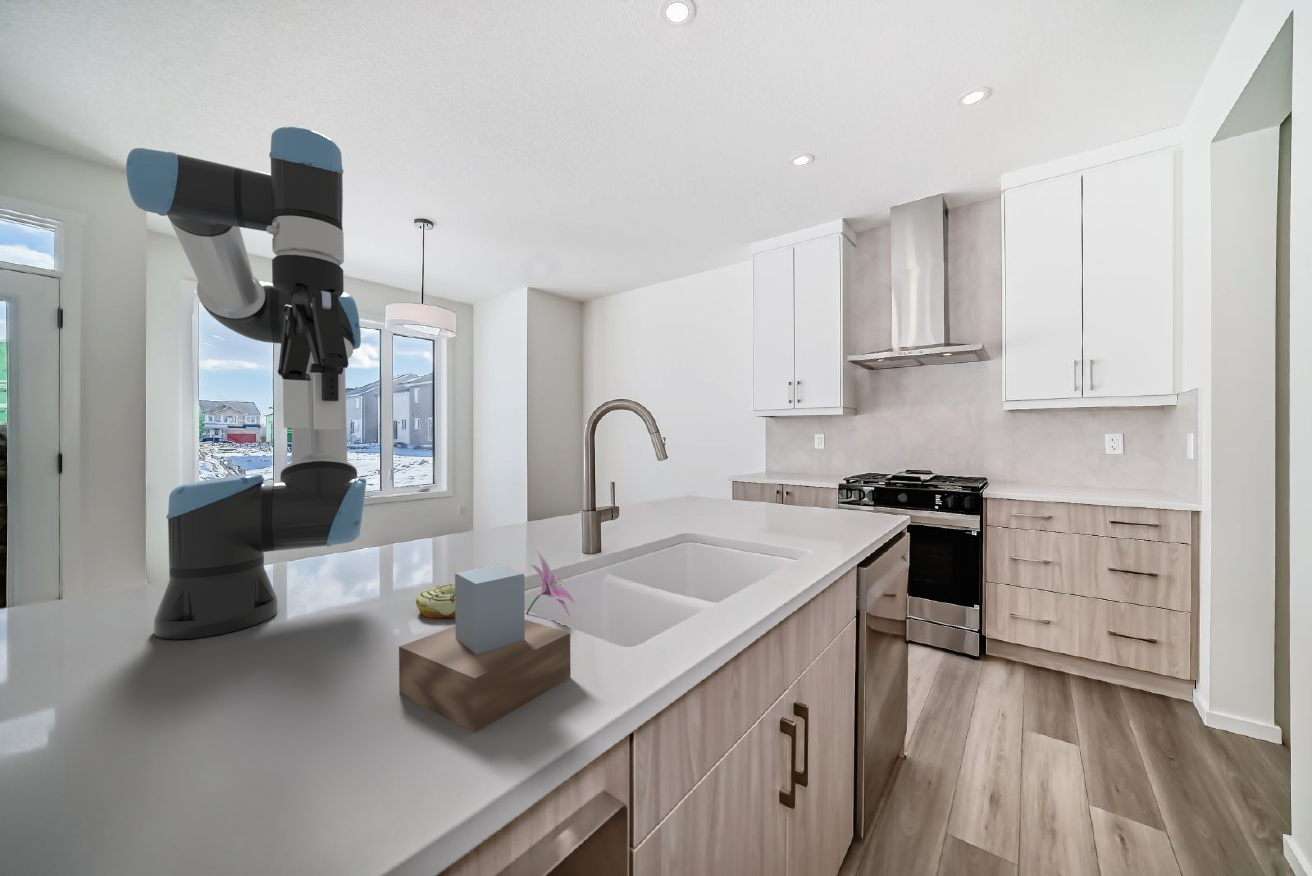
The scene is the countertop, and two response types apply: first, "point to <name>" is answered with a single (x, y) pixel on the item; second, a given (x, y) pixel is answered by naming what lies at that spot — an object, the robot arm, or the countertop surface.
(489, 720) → the walnut block
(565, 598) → the lily
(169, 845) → the countertop surface
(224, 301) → the robot arm
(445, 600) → the decorated donut
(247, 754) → the countertop surface
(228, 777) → the countertop surface
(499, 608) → the slate block
